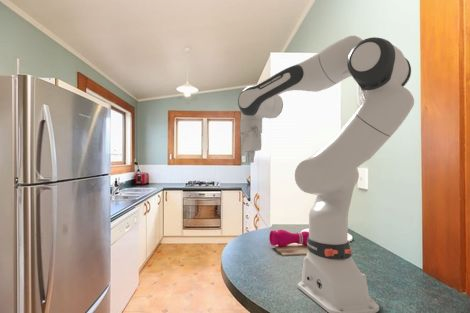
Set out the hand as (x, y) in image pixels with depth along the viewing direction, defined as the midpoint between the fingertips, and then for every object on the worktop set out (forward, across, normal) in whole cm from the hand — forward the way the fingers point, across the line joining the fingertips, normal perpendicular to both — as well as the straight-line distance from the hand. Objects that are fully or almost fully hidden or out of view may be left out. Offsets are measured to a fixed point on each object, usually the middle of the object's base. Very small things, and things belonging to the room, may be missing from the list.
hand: (250, 162), depth 103 cm
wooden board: (+37, +6, -23) cm, 44 cm away
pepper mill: (+33, +7, -11) cm, 35 cm away
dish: (+38, +22, -45) cm, 63 cm away
